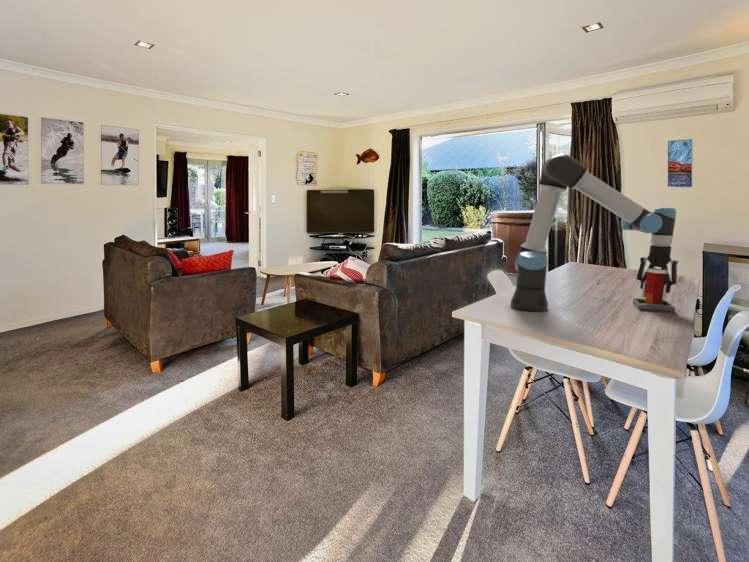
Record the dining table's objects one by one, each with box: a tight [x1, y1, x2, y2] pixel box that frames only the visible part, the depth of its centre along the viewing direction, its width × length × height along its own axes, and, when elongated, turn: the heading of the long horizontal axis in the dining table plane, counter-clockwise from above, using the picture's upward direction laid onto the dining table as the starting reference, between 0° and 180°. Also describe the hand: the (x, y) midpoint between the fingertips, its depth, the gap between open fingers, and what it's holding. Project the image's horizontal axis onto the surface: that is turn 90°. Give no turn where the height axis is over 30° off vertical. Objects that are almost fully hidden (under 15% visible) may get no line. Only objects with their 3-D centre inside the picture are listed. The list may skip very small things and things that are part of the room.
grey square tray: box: [632, 297, 676, 314], centre depth 190 cm, size 13×13×2 cm
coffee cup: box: [644, 267, 670, 305], centre depth 188 cm, size 8×8×15 cm
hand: (653, 298), depth 189 cm, fingers closed on coffee cup, 7 cm apart
